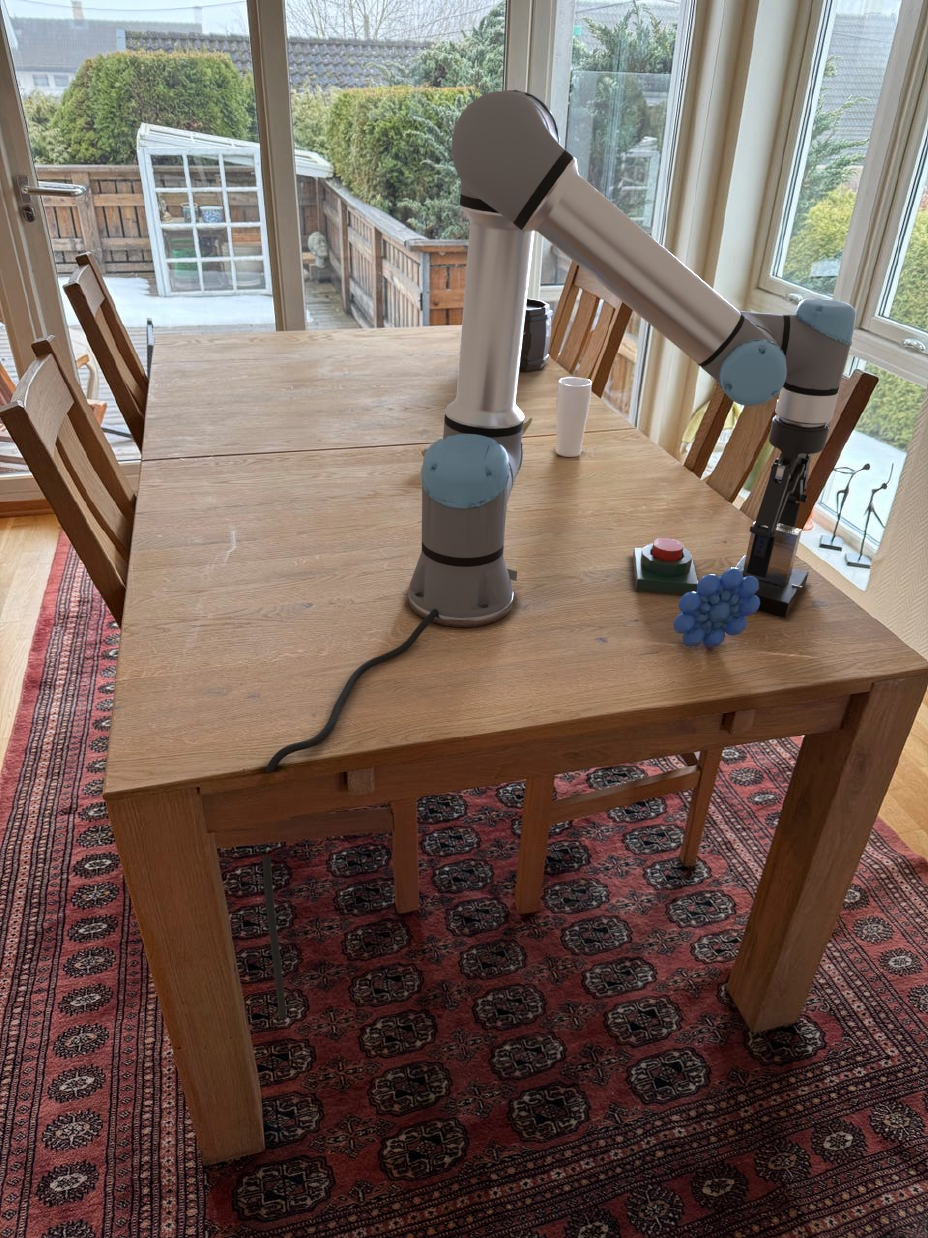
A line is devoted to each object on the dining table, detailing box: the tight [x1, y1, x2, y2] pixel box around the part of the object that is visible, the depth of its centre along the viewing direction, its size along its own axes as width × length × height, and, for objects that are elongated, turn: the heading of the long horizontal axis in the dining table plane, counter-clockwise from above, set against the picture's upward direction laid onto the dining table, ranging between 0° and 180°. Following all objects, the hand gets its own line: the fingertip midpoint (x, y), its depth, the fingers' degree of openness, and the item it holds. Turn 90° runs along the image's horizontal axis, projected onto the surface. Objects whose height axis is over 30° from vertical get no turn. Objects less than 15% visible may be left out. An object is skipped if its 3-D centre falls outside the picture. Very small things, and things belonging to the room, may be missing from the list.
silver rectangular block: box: [743, 521, 803, 587], centre depth 136 cm, size 6×3×9 cm, turn 58°
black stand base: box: [730, 554, 809, 619], centre depth 139 cm, size 12×11×3 cm
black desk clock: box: [519, 297, 554, 372], centre depth 243 cm, size 18×18×16 cm
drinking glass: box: [554, 376, 593, 458], centre depth 185 cm, size 7×7×15 cm
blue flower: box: [672, 567, 760, 648], centre depth 123 cm, size 12×7×12 cm, turn 98°
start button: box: [652, 537, 685, 561], centre depth 140 cm, size 5×5×2 cm
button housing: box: [632, 543, 699, 595], centre depth 142 cm, size 11×9×4 cm
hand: (769, 557), depth 136 cm, fingers open, 13 cm apart
